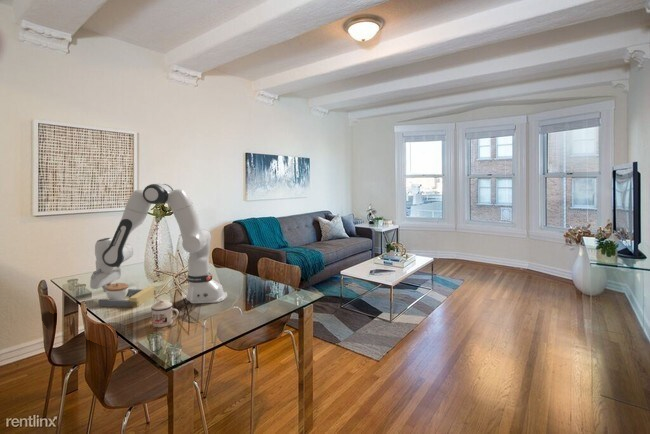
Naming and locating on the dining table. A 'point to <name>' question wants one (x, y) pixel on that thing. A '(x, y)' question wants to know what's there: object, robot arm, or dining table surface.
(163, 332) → the dining table surface
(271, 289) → the dining table surface
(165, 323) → the teacup with lid
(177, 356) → the dining table surface
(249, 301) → the dining table surface
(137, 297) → the grey and yellow tray
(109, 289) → the lidded jar
